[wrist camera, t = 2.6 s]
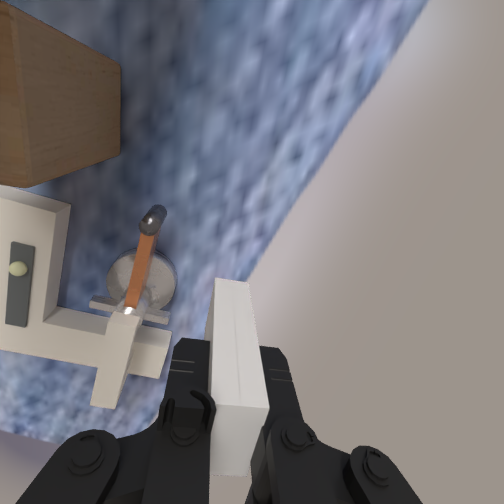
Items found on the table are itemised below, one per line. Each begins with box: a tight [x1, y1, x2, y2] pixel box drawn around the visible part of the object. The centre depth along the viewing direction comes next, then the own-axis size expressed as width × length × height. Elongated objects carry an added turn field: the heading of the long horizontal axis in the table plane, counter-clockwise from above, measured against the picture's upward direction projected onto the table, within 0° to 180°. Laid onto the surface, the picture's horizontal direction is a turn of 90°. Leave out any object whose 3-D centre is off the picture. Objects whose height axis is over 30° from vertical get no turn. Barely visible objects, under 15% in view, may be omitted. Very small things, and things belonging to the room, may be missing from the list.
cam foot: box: [89, 204, 177, 332], centre depth 39 cm, size 18×10×9 cm, turn 160°
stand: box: [0, 185, 172, 409], centre depth 38 cm, size 22×33×12 cm, turn 70°
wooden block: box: [0, 1, 121, 188], centre depth 26 cm, size 10×10×20 cm
